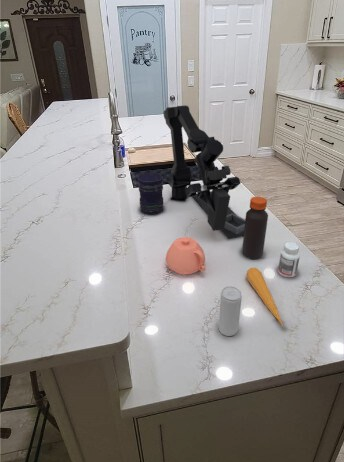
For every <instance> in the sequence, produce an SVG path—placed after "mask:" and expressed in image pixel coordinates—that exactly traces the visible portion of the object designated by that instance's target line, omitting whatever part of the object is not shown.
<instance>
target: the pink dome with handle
mask: <svg viewBox="0 0 344 462" xmlns="http://www.w3.org/2000/svg"><path fill="white" fill-rule="evenodd" d="M205 255H206V254H205V251H204V250H203V248H202V246H201V245H200V244H199V242H198V241H197V240H196V239H195V238H192V237H189V236H182V237H178V238H176V239H174V241H173V242H172V243H171V245H170V246H169V247H168V249H167V252H166V254H165V263H166V265H167V267H168V268H169V269H170V270H171V271H173V272H174V273H177V274H180V275H183V276H187V275H192V274H195V273H197V272H199V271H200V272H205V270H206V265H205V263H206V256H205Z"/></svg>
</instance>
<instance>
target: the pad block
mask: <svg viewBox="0 0 344 462" xmlns="http://www.w3.org/2000/svg"><path fill="white" fill-rule="evenodd" d="M211 191H212V195H211V199H212V201H213V204H214V207H215V211H214V212H213V211H212V210H211V209H210V208H209V213H208V214H207V220H206V222H207V224H208V226H210V228H211V230H212V231H213V232H214V231H221V230H224V227H225V222H226V216H227V211H228V207H229V206H230V201H231V195H230V194H229V192H228V193H227V192H226V191H225V190H224V189H223V188H220V189H219V188H218V189H212V190H211Z"/></svg>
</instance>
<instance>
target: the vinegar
mask: <svg viewBox="0 0 344 462" xmlns="http://www.w3.org/2000/svg"><path fill="white" fill-rule="evenodd" d="M267 204H268V200H267V198H265V197H263V196H253V197H251V198H250V201H249V209H248V210H247V211H246V212H245V219H244V220H245V229H244V236H243V239H242V251H241V253H242V255H243V256H244V257H246V258H248V259H251V260H257V259H260V258H262V257H263V255H264V250H265V242H266V235H267V227H268V221H269V220H268V219H269V213H268V212H267V211H266V210H267Z"/></svg>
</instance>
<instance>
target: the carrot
mask: <svg viewBox="0 0 344 462" xmlns="http://www.w3.org/2000/svg"><path fill="white" fill-rule="evenodd" d="M245 275H246V279H247V281H248V282H249V283H250V285H251V286H252V288H253V289H254V290H255V292H256V293H257V295H258V296H259V297H260V299H261V300H262V302H263V303H264V304H265V306H266V307H267V308H268V310H269V311H270V312H271V314H272V315H273V316H274V317H275V318H276V320H277V321H278V322H279V324H280V325H281V326H282V327H284V324H283V322H282V319H281V316H280V314H279V311H278V308H277V306H276V304H275V303H276V302H275V301H274V299H273V297H272V294H271V292H270V289H269V287H268V285H267V282H266V280H265V277H264V275H263V273H262V272H261V271H260V270H259V268H257V267H251V268H250V267H249V269H248V270H247V271H246V274H245Z"/></svg>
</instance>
